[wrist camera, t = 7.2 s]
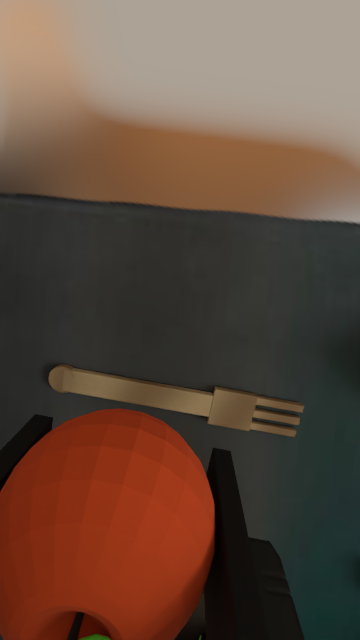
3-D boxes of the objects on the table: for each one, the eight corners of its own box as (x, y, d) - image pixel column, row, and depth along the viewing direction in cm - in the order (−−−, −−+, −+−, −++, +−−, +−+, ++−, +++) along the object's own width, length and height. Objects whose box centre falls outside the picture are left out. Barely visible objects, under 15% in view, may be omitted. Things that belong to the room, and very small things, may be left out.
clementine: (256, 473, 13) (332, 714, 6) (143, 555, 14) (102, 836, 7) (131, 343, 12) (55, 466, 5) (18, 444, 13) (-167, 654, 6)
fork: (50, 391, 29) (46, 395, 28) (53, 356, 28) (49, 359, 27) (292, 435, 29) (294, 439, 28) (302, 401, 28) (305, 405, 28)
